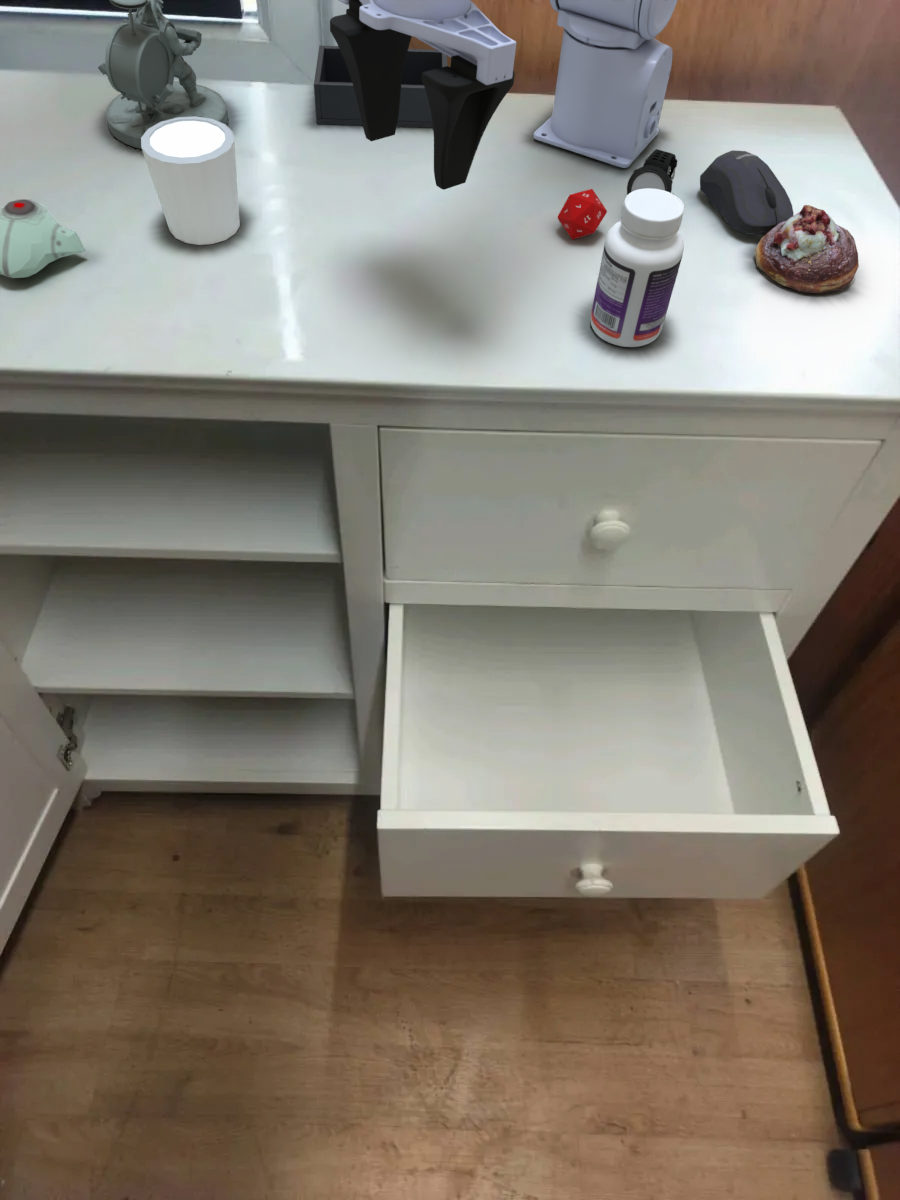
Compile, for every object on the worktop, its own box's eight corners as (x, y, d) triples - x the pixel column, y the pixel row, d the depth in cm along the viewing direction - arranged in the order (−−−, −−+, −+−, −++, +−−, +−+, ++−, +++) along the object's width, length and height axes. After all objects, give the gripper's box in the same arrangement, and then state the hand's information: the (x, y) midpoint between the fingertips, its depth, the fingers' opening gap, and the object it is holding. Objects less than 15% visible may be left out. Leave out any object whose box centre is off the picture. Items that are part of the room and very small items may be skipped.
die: (546, 208, 73) (567, 185, 69) (581, 199, 74) (604, 176, 70) (560, 250, 73) (583, 230, 69) (595, 240, 74) (619, 220, 71)
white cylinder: (144, 236, 70) (121, 148, 64) (190, 193, 74) (172, 106, 68) (220, 258, 69) (203, 170, 63) (263, 213, 73) (251, 127, 67)
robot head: (67, 301, 66) (97, 241, 69) (49, 256, 62) (81, 194, 66) (-38, 285, 66) (-3, 226, 69) (-62, 239, 63) (-24, 179, 66)
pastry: (737, 267, 71) (758, 208, 67) (778, 228, 75) (800, 170, 71) (830, 308, 68) (857, 250, 64) (867, 266, 72) (895, 208, 68)
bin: (445, 88, 86) (447, 49, 83) (446, 128, 82) (448, 88, 79) (322, 84, 86) (319, 45, 83) (316, 124, 81) (313, 84, 79)
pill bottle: (659, 307, 68) (693, 185, 60) (662, 353, 65) (698, 230, 57) (589, 300, 68) (613, 178, 60) (588, 345, 65) (614, 222, 57)
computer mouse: (741, 245, 73) (757, 199, 69) (684, 186, 77) (697, 140, 74) (799, 233, 74) (817, 187, 71) (739, 176, 79) (754, 131, 76)
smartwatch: (612, 213, 75) (624, 154, 71) (653, 193, 77) (667, 135, 73) (649, 235, 73) (663, 177, 69) (689, 214, 75) (705, 156, 71)
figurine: (248, 107, 83) (227, -43, 73) (190, 163, 77) (158, 7, 67) (149, 84, 84) (115, -66, 75) (84, 136, 78) (38, -19, 69)
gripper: (290, -121, 50) (302, 129, 60) (455, -40, 43) (436, 224, 54) (390, -133, 53) (385, 107, 63) (557, -59, 47) (521, 194, 57)
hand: (414, 159), depth 59 cm, fingers open, 7 cm apart
